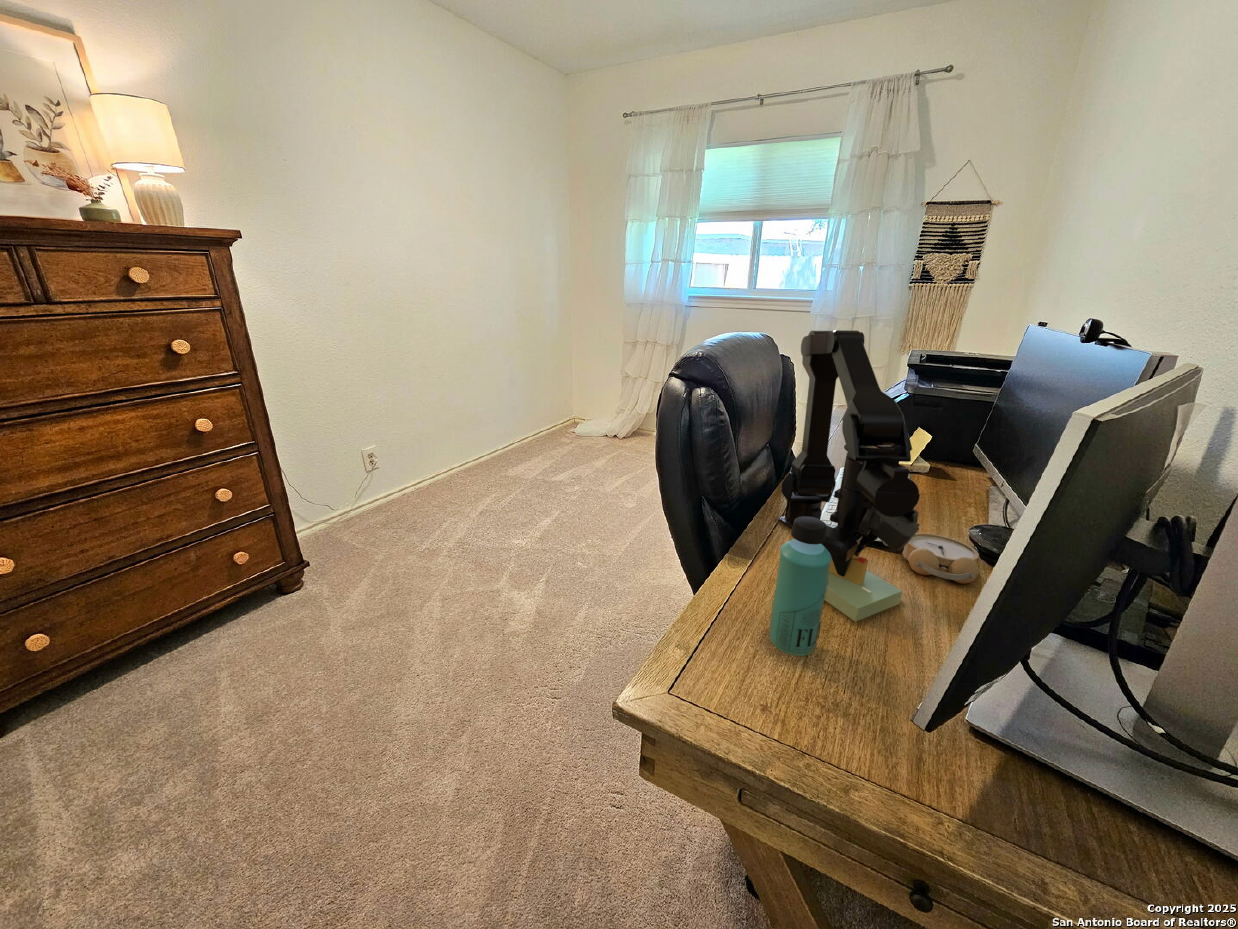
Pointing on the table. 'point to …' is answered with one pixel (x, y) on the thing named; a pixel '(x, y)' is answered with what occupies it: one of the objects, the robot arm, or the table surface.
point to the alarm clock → (942, 557)
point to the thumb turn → (853, 570)
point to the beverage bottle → (800, 588)
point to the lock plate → (861, 595)
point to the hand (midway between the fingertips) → (843, 573)
